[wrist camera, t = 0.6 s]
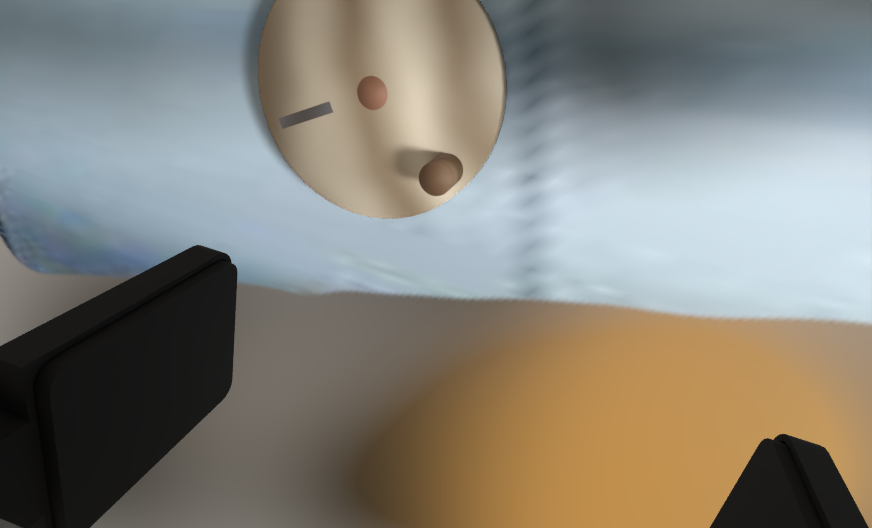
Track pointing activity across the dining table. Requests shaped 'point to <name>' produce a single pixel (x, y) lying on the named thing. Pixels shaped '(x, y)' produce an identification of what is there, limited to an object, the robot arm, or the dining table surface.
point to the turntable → (383, 98)
